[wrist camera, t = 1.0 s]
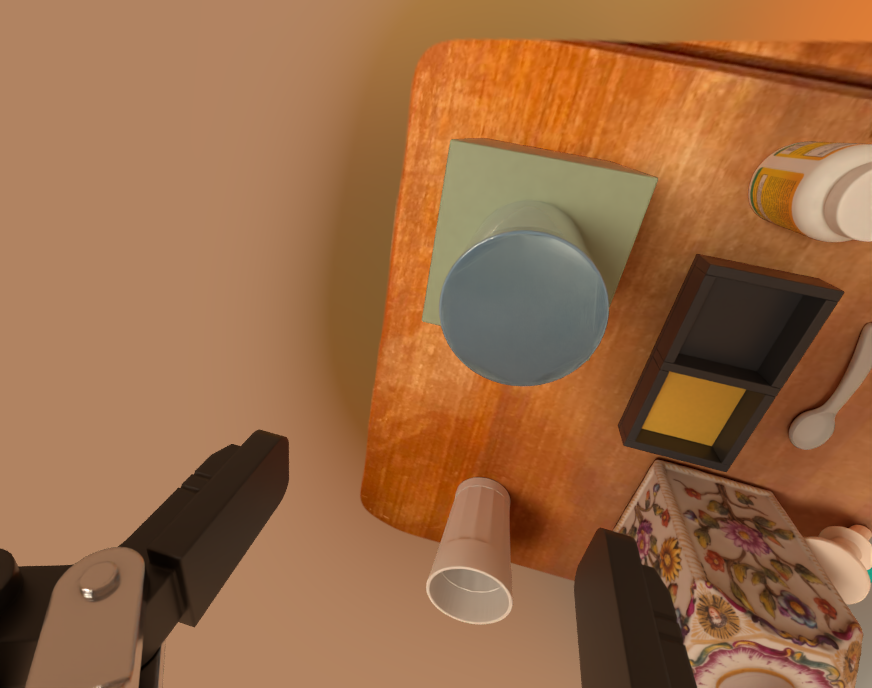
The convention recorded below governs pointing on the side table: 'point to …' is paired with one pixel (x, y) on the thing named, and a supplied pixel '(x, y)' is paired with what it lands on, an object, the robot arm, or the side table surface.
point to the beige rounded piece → (845, 559)
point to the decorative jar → (742, 583)
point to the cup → (474, 556)
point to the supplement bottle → (817, 190)
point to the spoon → (833, 399)
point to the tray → (723, 359)
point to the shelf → (540, 181)
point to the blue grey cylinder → (524, 297)
